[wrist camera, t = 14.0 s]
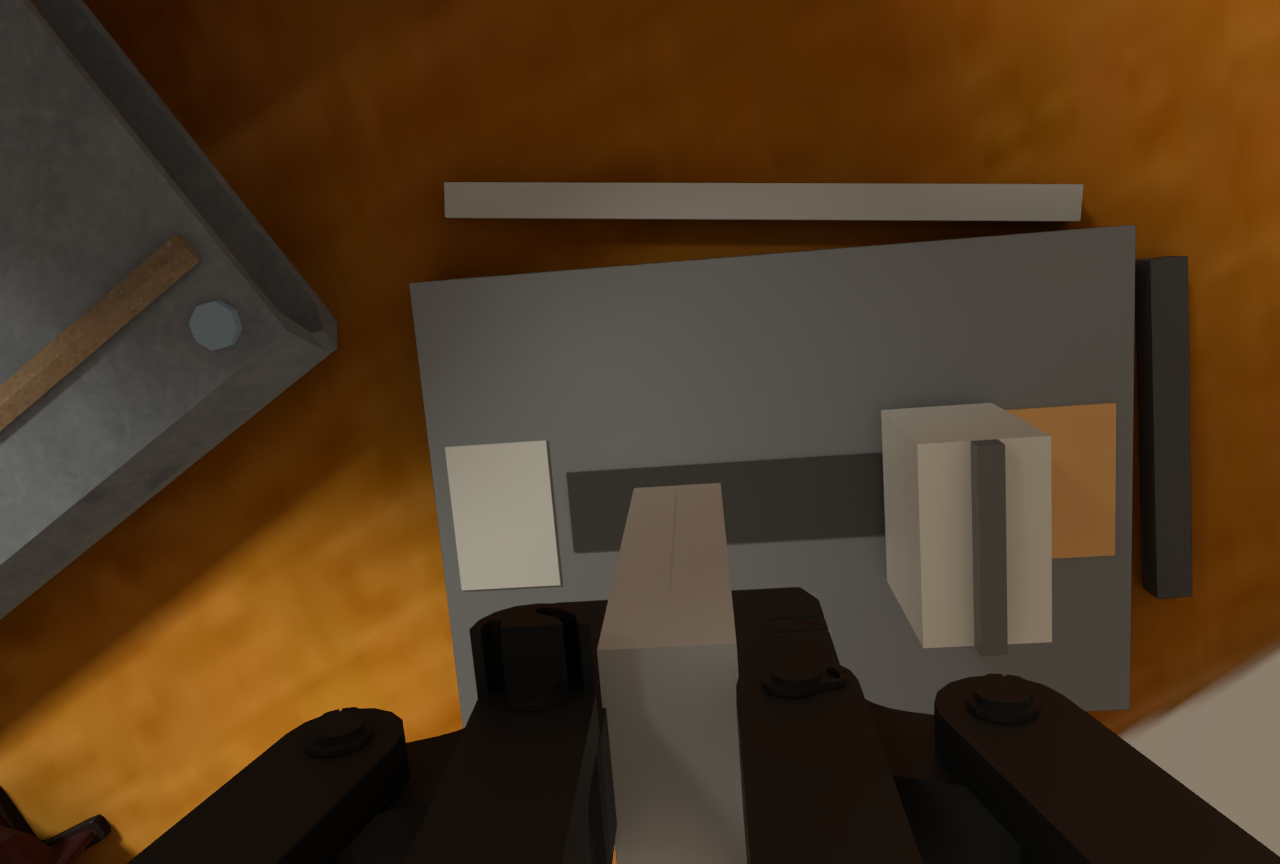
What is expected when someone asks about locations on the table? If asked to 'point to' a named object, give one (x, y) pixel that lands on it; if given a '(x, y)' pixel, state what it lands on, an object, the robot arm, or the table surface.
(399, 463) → the table surface
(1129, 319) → the grey flat rectangular block
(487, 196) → the bar
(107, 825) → the mate gourd
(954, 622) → the lever
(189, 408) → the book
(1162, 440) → the bar
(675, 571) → the robot arm
